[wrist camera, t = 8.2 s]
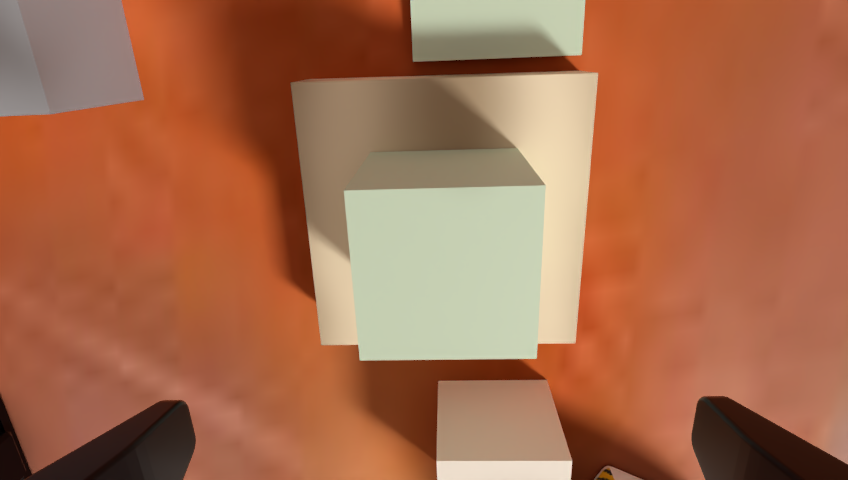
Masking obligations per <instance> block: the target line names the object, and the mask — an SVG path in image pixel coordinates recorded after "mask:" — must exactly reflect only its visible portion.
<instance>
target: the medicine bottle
mask: <svg viewBox="0 0 848 480" xmlns="http://www.w3.org/2000/svg"><path fill="white" fill-rule="evenodd" d="M594 480H643V479H640V478H638V477H636V476H633V475H631V474H629V473H626V472H624V471H621V470H619V469H617V468H614V467H612V466H605V467H604V468H603V469H602V470H601V471H600V472H599V474H598V475H597V476H596V477H595V479H594Z"/></svg>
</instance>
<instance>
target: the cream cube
mask: <svg viewBox="0 0 848 480" xmlns="http://www.w3.org/2000/svg"><path fill="white" fill-rule="evenodd" d="M436 462H437V480H571V471H572V458H571V455H570V452H569V449H568V445H567V442H566V439H565V436H564V433H563V429H562V426H561V423H560V420H559V417H558V413H557V410H556V407H555V404H554V401H553V398H552V394H551V391H550V388H549V385H548V382H547V380H466V381H438V412H437V459H436Z"/></svg>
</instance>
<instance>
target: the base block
mask: <svg viewBox="0 0 848 480" xmlns="http://www.w3.org/2000/svg"><path fill="white" fill-rule="evenodd" d="M597 81H598V73H594V72H586V71H551V72H519V73H487V74H454V75H422V76H390V77H358V78H326V79H307V80H302V81H296V82H291V92H292V100H293V109H294V117H295V126H296V134H297V143H298V151H299V160H300V168H301V177H302V185H303V194H304V202H305V211H306V219H307V228H308V236H309V245H310V253H311V262H312V270H313V279H314V287H315V296H316V304H317V313H318V321H319V330H320V338H321V345H358V336H357V326H356V315H355V305H354V294H353V283H352V273H351V262H350V252H349V241H348V230H347V220H346V209H345V199H344V189H345V188H346V187H347V185H348V184H349V182H350V181H351V179H352V178H353V176H354V175H355V174H356V172H357V171H358V169H359V168H360V166H361V165H362V164H363V162H364V161H365V159H366V158H367V156H368V155H369V154H370V152H394V151H429V150H464V149H499V148H518V149H519V151H520V152H521V153H522V155H523V156H524V157H525V159H526V160H527V161H528V163H529V164H530V165H531V167H532V168H533V169H534V171H535V172H536V173H537V175H538V176H539V177H540V178H541V180H542V181H543V182H544V184H545V185H546V190H545V209H544V228H543V247H542V267H541V286H540V305H539V325H538V344H543V343H575V342H576V330H577V318H578V306H579V294H580V283H581V271H582V259H583V247H584V235H585V223H586V211H587V200H588V188H589V176H590V164H591V152H592V140H593V129H594V117H595V105H596V93H597Z"/></svg>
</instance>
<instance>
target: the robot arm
mask: <svg viewBox="0 0 848 480" xmlns="http://www.w3.org/2000/svg"><path fill="white" fill-rule="evenodd" d="M195 443H196V438H195V433H194V428H193V424H192V420H191V416H190V412H189V408H188V405H187V404H186V403H185V402H184V401H182V400H164V401H160V402H158V403H156V404H154V405H152V406H151V407H149V408H147V409H146V410H144V411H142V412H140V413H139V414H137V415H135V416H133V417H132V418H130V419H128V420H126V421H125V422H123V423H121V424H120V425H118V426H116V427H114V428H113V429H111V430H109V431H107V432H106V433H104V434H102V435H100V436H99V437H97V438H95V439H93V440H92V441H90V442H88V443H87V444H85V445H83V446H81V447H80V448H78V449H76V450H74V451H73V452H71V453H69V454H67V455H66V456H64V457H62V458H60V459H59V460H57V461H55V462H54V463H52V464H50V465H48V466H47V467H45V468H43V469H41V470H40V471H38V472H36V473H34V474H33V475H31V473H30V470H29V468H28V465H27V463H26V460H25V458H24V455H23V453H22V450H21V448H20V445H19V442H18V440H17V437H16V435H15V432H14V430H13V427H12V425H11V422H10V420H9V417H8V415H7V412H6V410H5V407H4V405H3V402H2V400H1V398H0V480H183V478H184V476H185V473H186V470H187V468H188V465H189V463H190V460H191V457H192V455H193V452H194V449H195ZM692 445H693V449H694V452H695V455H696V457H697V460H698V462H699V465H700V467H701V470H702V472H703V475H704V477H705V480H848V464H846V463H844V462H842V461H841V460H839V459H837V458H835V457H833V456H832V455H830V454H828V453H826V452H825V451H823V450H821V449H819V448H817V447H816V446H814V445H812V444H810V443H808V442H807V441H805V440H803V439H801V438H800V437H798V436H796V435H794V434H792V433H791V432H789V431H787V430H785V429H784V428H782V427H780V426H778V425H776V424H775V423H773V422H771V421H769V420H767V419H766V418H764V417H762V416H760V415H759V414H757V413H755V412H753V411H751V410H750V409H748V408H746V407H744V406H743V405H741V404H739V403H737V402H735V401H734V400H732V399H730V398H728V397H724V396H704V397H702V398H700V399H699V401H698V403H697V407H696V413H695V418H694V424H693V430H692Z"/></svg>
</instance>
